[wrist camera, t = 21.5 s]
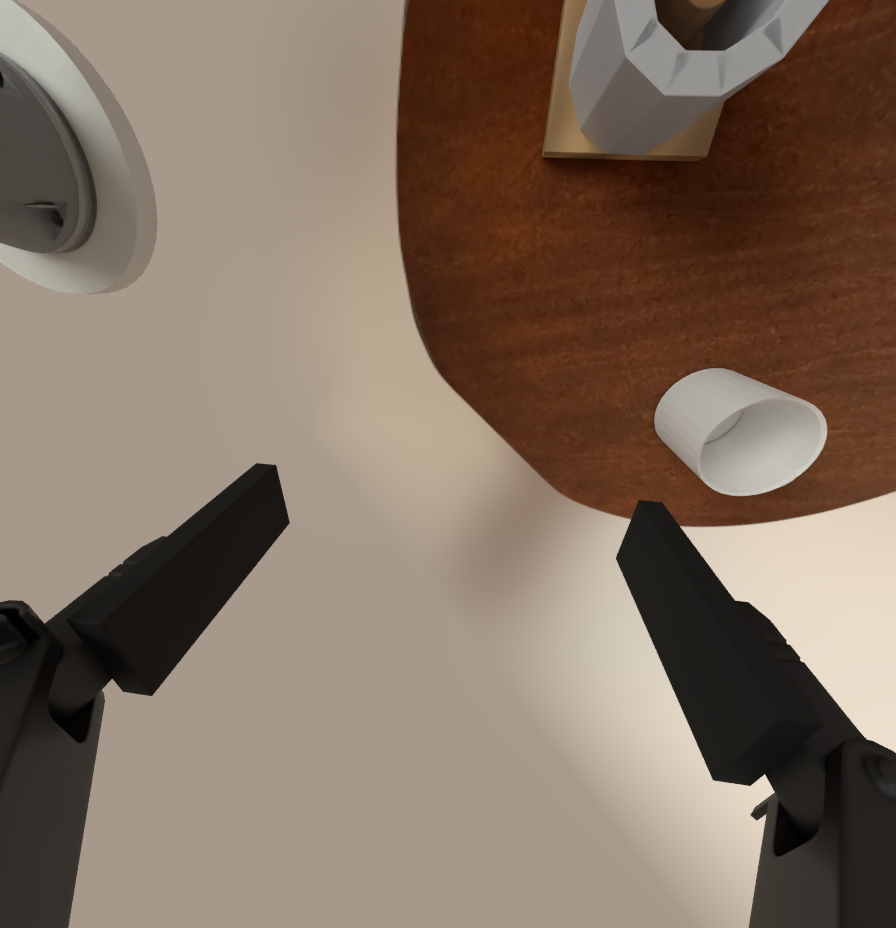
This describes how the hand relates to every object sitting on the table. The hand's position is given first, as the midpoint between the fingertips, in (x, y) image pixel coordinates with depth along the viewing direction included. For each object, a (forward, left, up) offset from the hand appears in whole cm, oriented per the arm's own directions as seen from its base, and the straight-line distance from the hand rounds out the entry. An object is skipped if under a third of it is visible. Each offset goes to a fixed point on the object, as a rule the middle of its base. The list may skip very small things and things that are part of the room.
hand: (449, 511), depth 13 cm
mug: (+25, -5, -27) cm, 37 cm away
